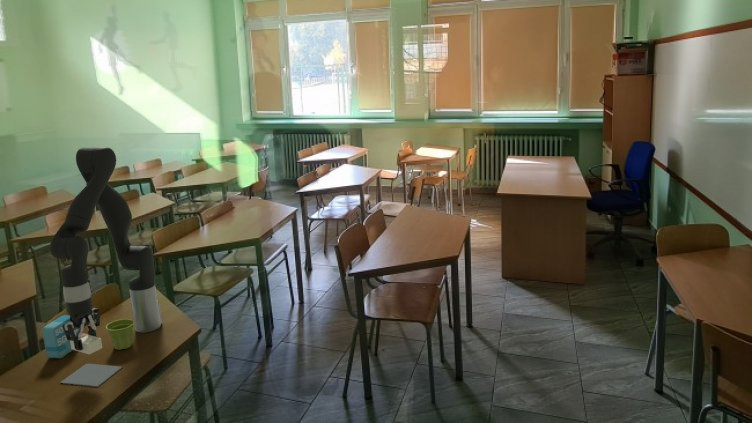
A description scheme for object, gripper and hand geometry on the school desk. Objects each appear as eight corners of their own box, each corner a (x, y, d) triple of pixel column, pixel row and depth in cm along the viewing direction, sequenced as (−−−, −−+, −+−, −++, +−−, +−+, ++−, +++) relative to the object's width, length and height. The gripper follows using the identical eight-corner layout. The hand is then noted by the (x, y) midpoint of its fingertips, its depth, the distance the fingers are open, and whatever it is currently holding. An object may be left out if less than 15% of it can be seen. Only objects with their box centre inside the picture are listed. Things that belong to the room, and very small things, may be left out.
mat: (86, 364, 190) (86, 363, 190) (122, 367, 187) (122, 366, 187) (60, 383, 179) (60, 382, 179) (97, 387, 176) (97, 386, 176)
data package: (58, 360, 194) (52, 328, 191) (47, 359, 195) (40, 328, 192) (81, 343, 206) (76, 314, 203) (70, 343, 206) (65, 313, 203)
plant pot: (122, 338, 208) (119, 317, 206) (143, 341, 205) (139, 320, 203) (103, 350, 200) (99, 328, 198) (124, 353, 197) (120, 331, 195)
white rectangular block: (102, 347, 180) (100, 338, 180) (89, 354, 176) (87, 344, 175) (84, 342, 185) (83, 333, 184) (71, 349, 181) (69, 339, 180)
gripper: (71, 306, 169) (80, 357, 173) (103, 289, 182) (111, 336, 186) (50, 305, 170) (59, 355, 174) (84, 287, 184) (92, 334, 188)
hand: (86, 345), depth 180 cm, fingers closed on white rectangular block, 5 cm apart
